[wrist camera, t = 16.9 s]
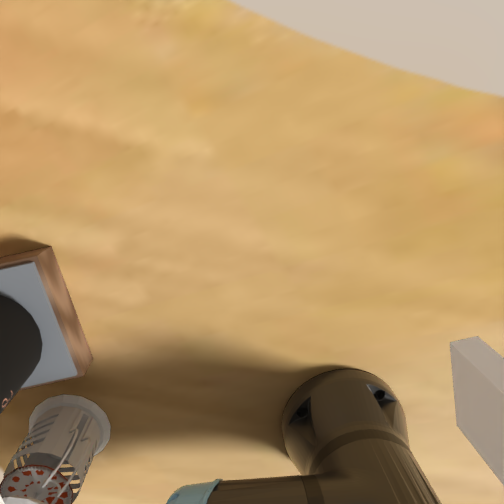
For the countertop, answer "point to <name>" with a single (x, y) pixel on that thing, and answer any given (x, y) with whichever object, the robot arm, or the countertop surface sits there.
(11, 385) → the coffee jar
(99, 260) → the countertop surface
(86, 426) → the glass coffee plunger
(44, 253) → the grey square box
